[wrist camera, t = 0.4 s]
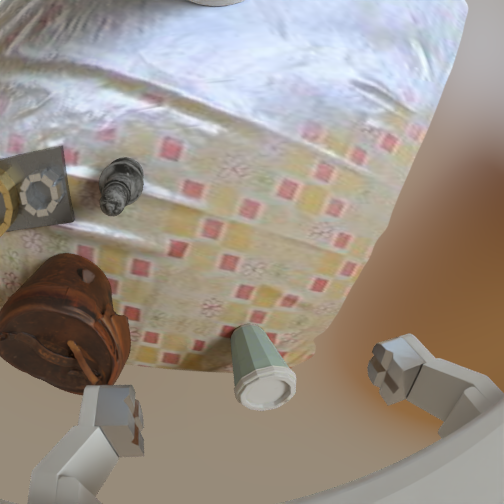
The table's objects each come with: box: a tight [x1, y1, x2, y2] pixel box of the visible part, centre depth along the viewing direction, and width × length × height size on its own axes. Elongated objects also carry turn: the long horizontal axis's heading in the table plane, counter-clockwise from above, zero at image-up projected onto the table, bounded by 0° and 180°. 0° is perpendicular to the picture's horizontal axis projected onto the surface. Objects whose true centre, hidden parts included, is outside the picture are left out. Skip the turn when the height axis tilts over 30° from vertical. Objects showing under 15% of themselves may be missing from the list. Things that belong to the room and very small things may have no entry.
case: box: [0, 253, 131, 395], centre depth 39 cm, size 18×20×18 cm
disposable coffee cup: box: [230, 324, 296, 411], centre depth 53 cm, size 11×11×15 cm
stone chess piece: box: [99, 158, 144, 216], centre depth 35 cm, size 6×6×12 cm
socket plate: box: [0, 146, 75, 237], centre depth 34 cm, size 11×19×4 cm, turn 88°
